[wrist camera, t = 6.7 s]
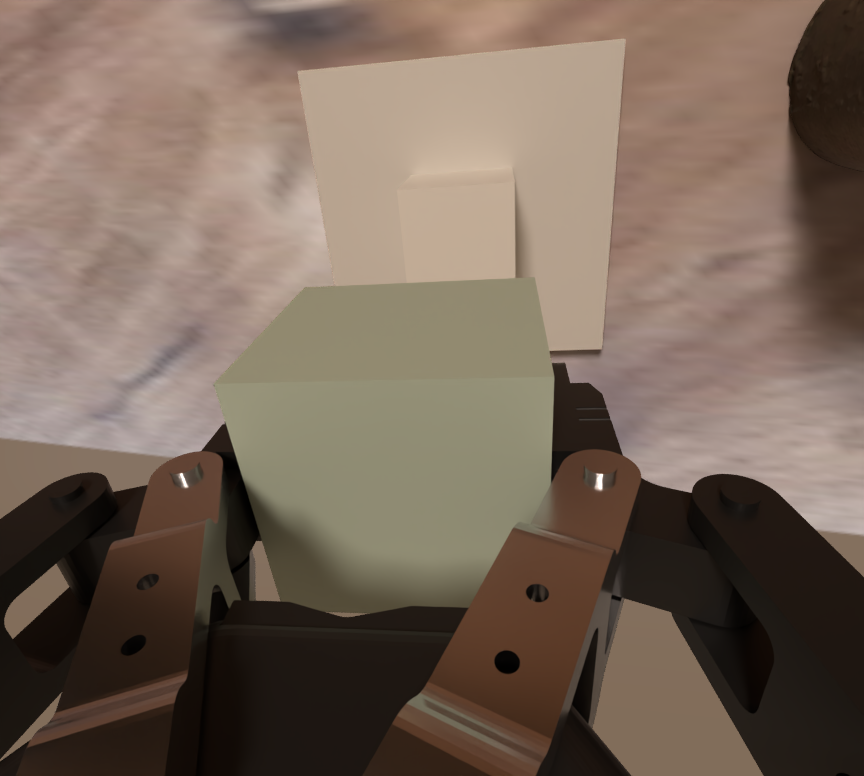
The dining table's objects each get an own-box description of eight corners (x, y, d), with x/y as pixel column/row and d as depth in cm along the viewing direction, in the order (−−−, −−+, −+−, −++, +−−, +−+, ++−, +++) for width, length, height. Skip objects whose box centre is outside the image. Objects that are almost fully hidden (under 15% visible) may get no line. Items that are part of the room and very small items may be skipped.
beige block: (512, 167, 29) (514, 181, 24) (513, 268, 31) (515, 296, 27) (411, 174, 29) (396, 190, 25) (420, 272, 32) (408, 300, 28)
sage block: (534, 277, 12) (554, 376, 8) (532, 469, 15) (545, 619, 11) (304, 287, 13) (213, 383, 9) (340, 469, 16) (283, 610, 11)
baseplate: (620, 40, 26) (625, 38, 25) (598, 341, 34) (601, 349, 33) (304, 71, 29) (297, 71, 28) (351, 348, 36) (346, 356, 35)
